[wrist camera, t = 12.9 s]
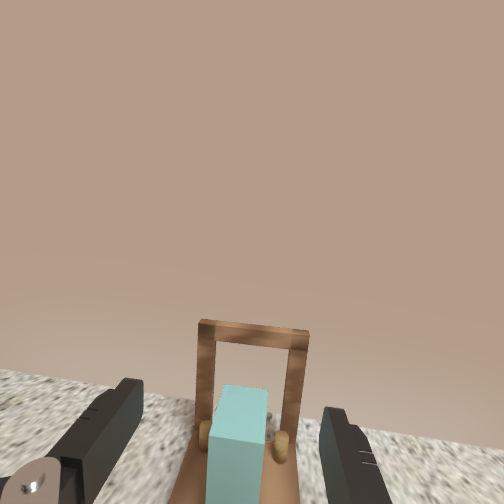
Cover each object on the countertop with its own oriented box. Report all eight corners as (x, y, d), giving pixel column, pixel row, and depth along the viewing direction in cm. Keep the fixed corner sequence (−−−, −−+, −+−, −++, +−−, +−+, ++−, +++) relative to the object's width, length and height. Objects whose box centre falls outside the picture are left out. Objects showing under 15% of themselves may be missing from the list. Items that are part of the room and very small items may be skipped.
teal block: (203, 539, 23) (208, 435, 21) (219, 470, 29) (224, 383, 27) (253, 549, 22) (264, 444, 20) (259, 477, 28) (267, 390, 26)
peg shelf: (132, 636, 19) (126, 436, 16) (196, 440, 35) (201, 318, 32) (306, 672, 18) (343, 468, 15) (292, 454, 34) (308, 330, 31)
